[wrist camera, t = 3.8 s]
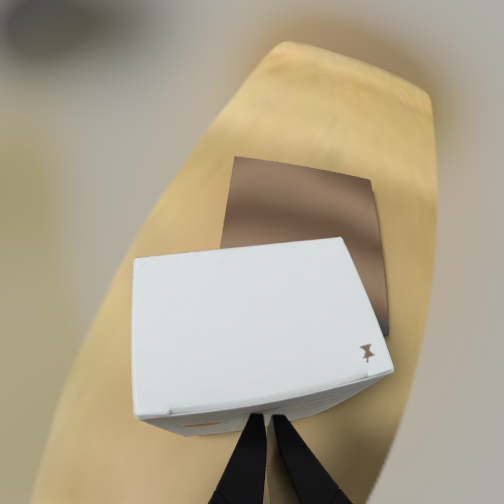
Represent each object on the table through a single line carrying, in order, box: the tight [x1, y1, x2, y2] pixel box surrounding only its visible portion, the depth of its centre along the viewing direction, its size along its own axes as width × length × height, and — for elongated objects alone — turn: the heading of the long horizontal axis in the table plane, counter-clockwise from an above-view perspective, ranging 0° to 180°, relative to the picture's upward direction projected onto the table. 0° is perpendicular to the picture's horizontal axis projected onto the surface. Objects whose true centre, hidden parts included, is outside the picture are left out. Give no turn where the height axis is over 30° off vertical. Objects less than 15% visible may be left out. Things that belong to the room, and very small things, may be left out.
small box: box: [131, 237, 394, 437], centre depth 13 cm, size 8×6×10 cm
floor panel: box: [220, 156, 389, 337], centre depth 22 cm, size 14×12×2 cm
